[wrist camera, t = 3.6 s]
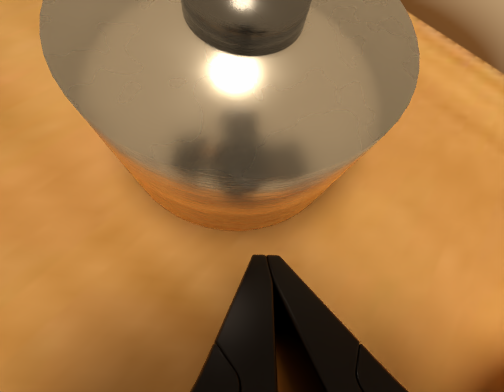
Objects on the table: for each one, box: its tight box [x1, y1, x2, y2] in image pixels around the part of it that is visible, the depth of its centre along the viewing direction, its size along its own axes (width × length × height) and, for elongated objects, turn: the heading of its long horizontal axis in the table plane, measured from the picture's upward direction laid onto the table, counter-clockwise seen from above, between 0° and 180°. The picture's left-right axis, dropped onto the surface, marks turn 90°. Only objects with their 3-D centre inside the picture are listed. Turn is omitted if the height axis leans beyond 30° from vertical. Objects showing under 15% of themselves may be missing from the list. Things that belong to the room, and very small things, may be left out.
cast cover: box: [40, 0, 419, 231], centre depth 13 cm, size 15×15×9 cm
